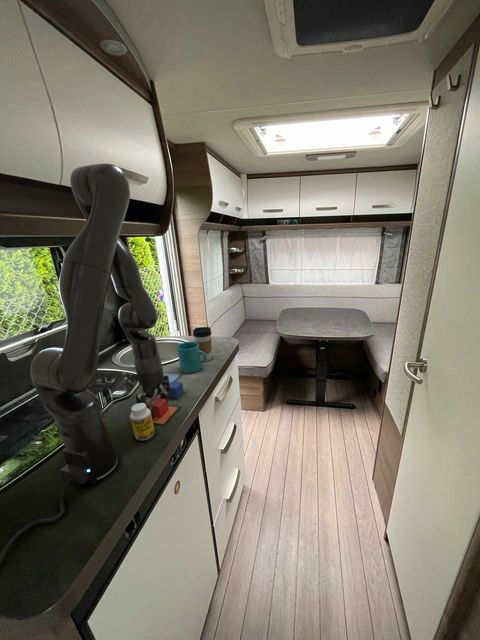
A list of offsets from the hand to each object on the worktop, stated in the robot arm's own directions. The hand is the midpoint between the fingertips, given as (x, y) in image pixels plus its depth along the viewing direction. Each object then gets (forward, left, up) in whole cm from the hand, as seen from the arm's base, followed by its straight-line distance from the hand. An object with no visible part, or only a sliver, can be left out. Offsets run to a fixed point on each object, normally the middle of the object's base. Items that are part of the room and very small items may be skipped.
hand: (158, 411), depth 92 cm
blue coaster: (+22, +11, -1) cm, 25 cm away
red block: (0, 0, -1) cm, 1 cm away
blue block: (+12, +1, -1) cm, 12 cm away
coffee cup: (+44, +4, -1) cm, 44 cm away
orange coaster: (0, 0, -1) cm, 1 cm away
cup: (+33, +4, -1) cm, 33 cm away
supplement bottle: (-10, -2, -1) cm, 10 cm away
